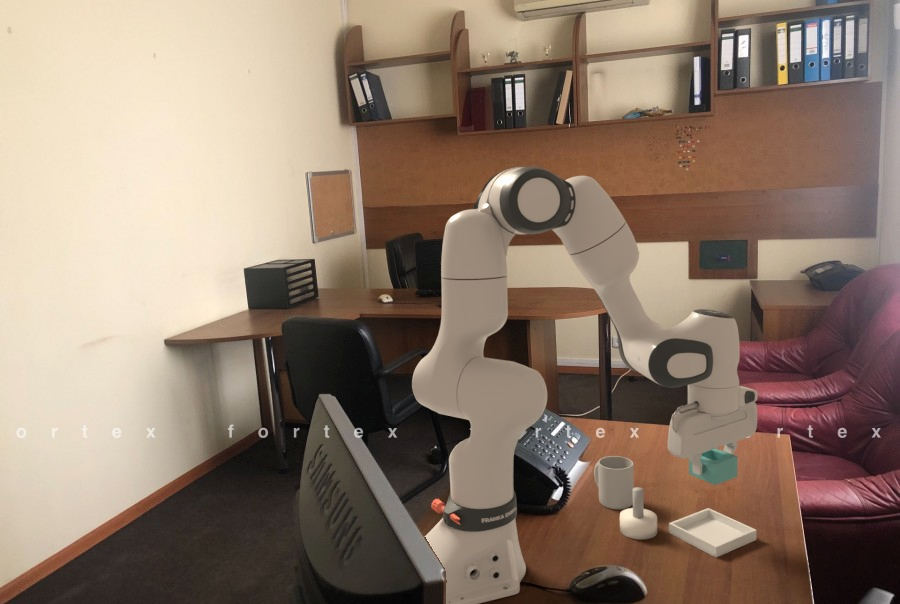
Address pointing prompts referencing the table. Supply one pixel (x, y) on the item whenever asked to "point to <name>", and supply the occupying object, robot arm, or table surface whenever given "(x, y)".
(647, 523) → the peg stand
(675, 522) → the tray
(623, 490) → the cup
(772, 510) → the table surface
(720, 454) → the teal hollow block
